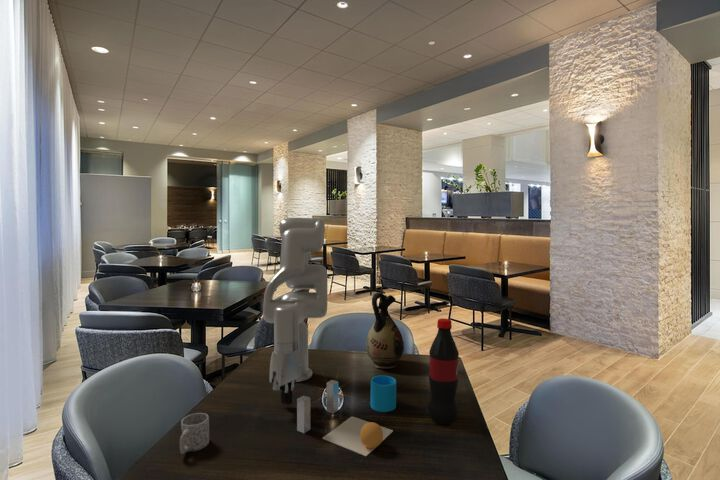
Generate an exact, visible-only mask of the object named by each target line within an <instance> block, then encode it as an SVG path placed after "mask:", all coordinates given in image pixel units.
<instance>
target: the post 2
mask: <svg viewBox="0 0 720 480" xmlns="http://www.w3.org/2000/svg"><path fill="white" fill-rule="evenodd" d="M338 411H339V381H338V380H337V381H336V380H334V379H331V380H329V381H327V382H326V412H327V413H329V414H335V413H337V412H338Z"/></svg>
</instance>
